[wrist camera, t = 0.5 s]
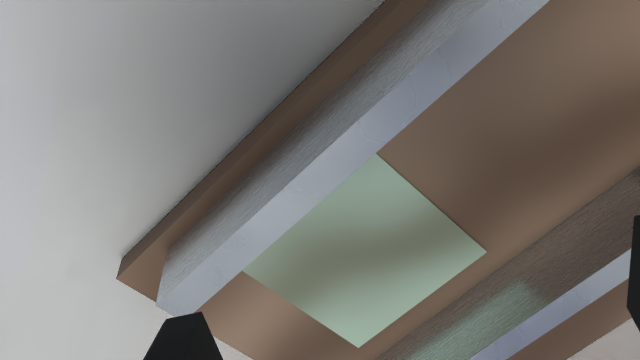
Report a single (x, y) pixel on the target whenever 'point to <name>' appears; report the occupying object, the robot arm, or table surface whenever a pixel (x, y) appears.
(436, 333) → the inner rail
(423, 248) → the track board
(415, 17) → the outer rail
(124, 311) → the table surface
